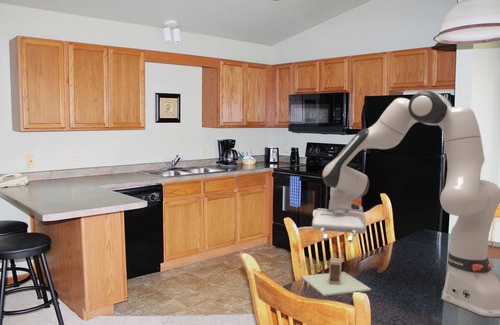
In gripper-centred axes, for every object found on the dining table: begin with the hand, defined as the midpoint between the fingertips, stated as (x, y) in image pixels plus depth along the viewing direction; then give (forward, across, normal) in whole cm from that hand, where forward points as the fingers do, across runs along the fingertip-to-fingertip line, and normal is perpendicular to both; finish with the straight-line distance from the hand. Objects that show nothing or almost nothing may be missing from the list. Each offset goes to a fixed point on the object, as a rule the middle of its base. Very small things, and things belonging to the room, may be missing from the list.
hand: (337, 240), depth 163 cm
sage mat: (+16, 0, +3) cm, 16 cm away
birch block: (+15, 0, +3) cm, 16 cm away
